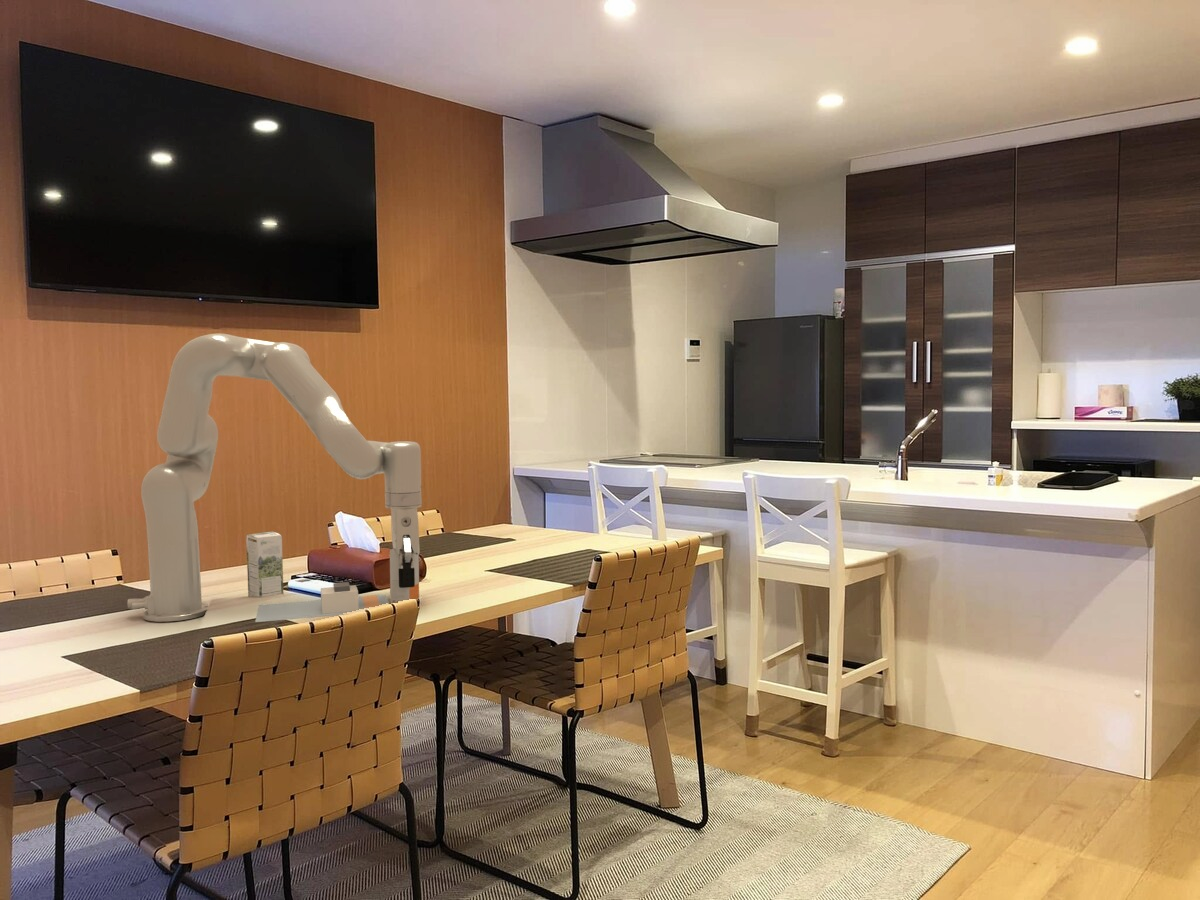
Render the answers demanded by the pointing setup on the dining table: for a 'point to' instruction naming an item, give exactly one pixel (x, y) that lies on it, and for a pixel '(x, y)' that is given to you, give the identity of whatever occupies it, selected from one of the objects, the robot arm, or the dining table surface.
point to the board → (309, 608)
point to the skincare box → (395, 590)
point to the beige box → (339, 598)
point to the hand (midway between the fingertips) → (404, 582)
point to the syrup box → (264, 564)
